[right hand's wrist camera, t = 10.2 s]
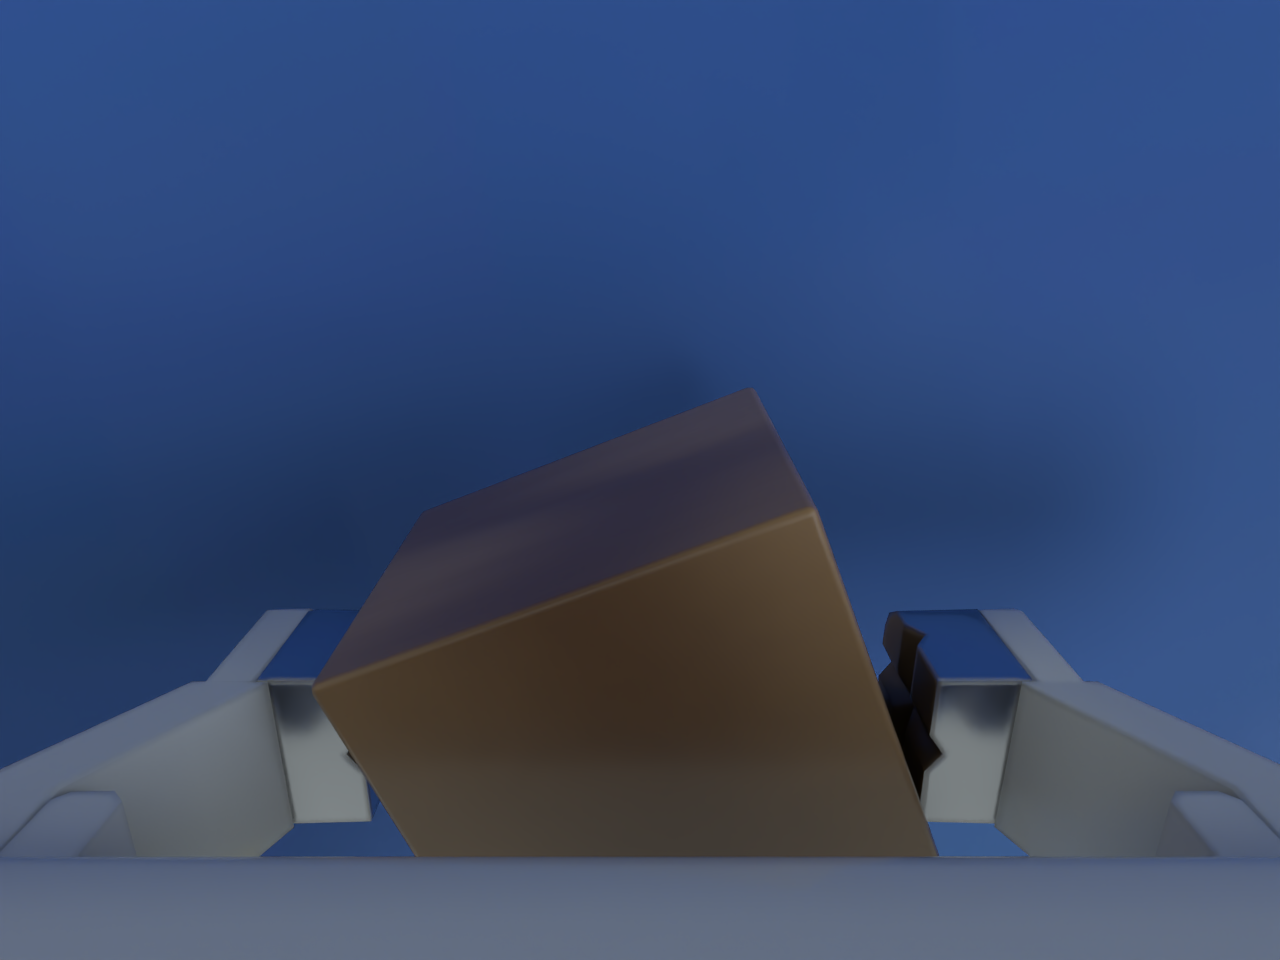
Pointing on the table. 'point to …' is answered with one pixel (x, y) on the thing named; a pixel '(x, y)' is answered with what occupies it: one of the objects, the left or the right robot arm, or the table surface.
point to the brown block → (627, 664)
